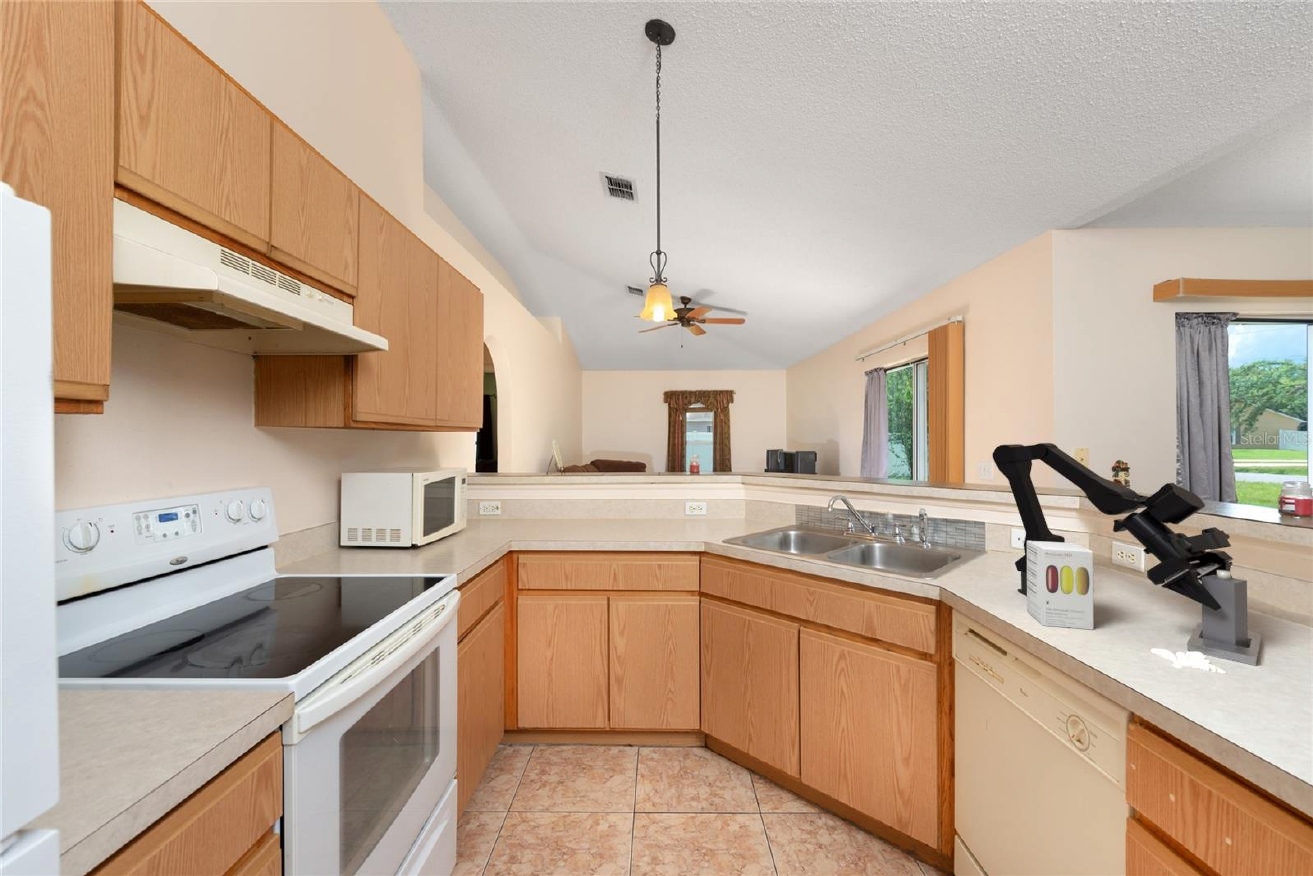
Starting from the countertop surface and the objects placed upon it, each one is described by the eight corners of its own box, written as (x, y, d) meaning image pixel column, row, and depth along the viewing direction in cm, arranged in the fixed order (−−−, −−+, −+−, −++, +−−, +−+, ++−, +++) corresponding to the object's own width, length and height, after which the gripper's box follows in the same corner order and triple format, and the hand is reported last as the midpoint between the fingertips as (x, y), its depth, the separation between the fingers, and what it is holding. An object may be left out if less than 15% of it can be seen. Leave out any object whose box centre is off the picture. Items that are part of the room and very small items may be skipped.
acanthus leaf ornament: (1150, 655, 96) (1150, 645, 96) (1196, 659, 94) (1196, 649, 94) (1177, 672, 89) (1176, 661, 89) (1227, 677, 87) (1227, 666, 87)
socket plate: (1255, 665, 89) (1255, 654, 89) (1187, 650, 96) (1187, 639, 96) (1261, 641, 99) (1261, 631, 99) (1198, 629, 106) (1198, 619, 106)
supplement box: (1042, 626, 109) (1040, 548, 109) (1025, 611, 118) (1024, 539, 118) (1096, 630, 106) (1094, 550, 106) (1075, 615, 115) (1073, 541, 115)
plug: (1202, 643, 99) (1201, 569, 99) (1215, 639, 100) (1213, 567, 100) (1235, 652, 95) (1234, 575, 94) (1247, 648, 96) (1246, 572, 96)
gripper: (1166, 518, 98) (1249, 590, 88) (1218, 510, 105) (1301, 577, 94) (1117, 550, 105) (1189, 620, 95) (1169, 541, 112) (1241, 606, 102)
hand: (1231, 605), depth 96 cm, fingers open, 9 cm apart
